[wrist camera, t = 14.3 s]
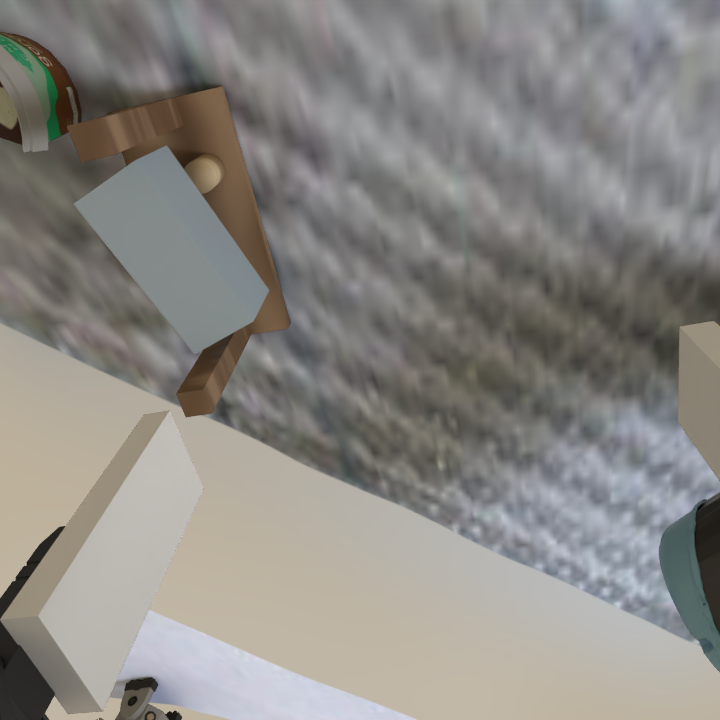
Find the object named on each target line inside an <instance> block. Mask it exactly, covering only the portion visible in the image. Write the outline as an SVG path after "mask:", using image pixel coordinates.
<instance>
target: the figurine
mask: <svg viewBox="0 0 720 720" xmlns="http://www.w3.org/2000/svg"><path fill="white" fill-rule="evenodd" d="M157 686H158V683H157V682H156V680H155V679H153V678H149V679H148V680H147V679H146V678H145V679H144V680H143V681H139V680H135V681H134V682H133V680H131V681H130V682H129V683H126V686H125V689H124V691H125V693H124V696H123V699H122V702H121V708H120V712H119V714H118V716H117V718H116V719H115V720H181V719H182V716H181V715H180V714H179V713H177V711H174V712H173V713H172V712H170V711H169V712H168V713H167V714H164V712H163V711H161V710H159V709H157V708H155V707H153V706H152V705H150V704H148V703H149V701H150V698H151V696H152V694H153V692H155V690H156V688H157ZM99 720H103V719H102V718H99Z"/></svg>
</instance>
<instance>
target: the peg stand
mask: <svg viewBox="0 0 720 720" xmlns="http://www.w3.org/2000/svg"><path fill="white" fill-rule="evenodd" d="M107 114H108V115H105V116H102V117H98V118H95V119H91V120H87V121H84V122H80V123H76V124H73V125H69V126H67V128H68V130H69V133H70V135H71V137H72V140H73V142H74V145H75V147H76V150H77V152H78V155H79V157H80V159H81V162H84V161H89V160H94V159H98V158H103V157H107V156H112V155H115V154H117V153H120V152H122V154H123V156H124V159H125V162H126V164H127V166H128V165H129V164H130V163H132V162H133V161H135V160H137V159H139V158H141V157H143V156H145V155H147V154H149V153H152V152H154V151H156V150H158V149H160V148H162V147H164V146H166V145H167V146H168V148H169V149H170V151H171V152H172V153H173V155H174V156H175V158H176V159H177V160H178V162H179V163H180V165H181V166H182V168H183V169H184V170H185V172H186V173H187V175H188V176H189V177H190V179H191V180H192V182H193V183H194V184H195V186H196V187H197V189H198V190H199V192H200V193H201V194H202V196H203V197H204V199H205V200H206V201H207V203H208V204H209V206H210V207H211V209H212V210H213V211H214V213H215V214H216V216H217V217H218V218H219V220H220V221H221V223H222V224H223V225H224V227H225V228H226V230H227V231H228V233H229V234H230V235H231V237H232V238H233V240H234V241H235V242H236V244H237V245H238V247H239V248H240V249H241V251H242V252H243V254H244V255H245V257H246V258H247V259H248V261H249V262H250V264H251V265H252V266H253V268H254V269H255V271H256V272H257V274H258V275H259V276H260V278H261V279H262V281H263V282H264V283H265V285H266V286H267V288H268V289H269V292H268V294H267V296H266V298H265V300H264V302H263V304H262V306H261V308H260V310H259V312H258V314H257V316H256V318H255V319H254V321H253V322H252V323H250V324H248V325H246V326H244V327H243V328H241V329H239V330H237V331H236V332H234V333H232V334H230V335H228V336H227V337H225V338H223V339H221V340H219V341H218V342H216V343H214V344H212V345H210V346H209V347H207V348H205V349H204V350H203V352H202V353H201V355H200V356H199V358H198V360H197V361H196V363H195V364H194V366H193V368H192V369H191V371H190V372H189V374H188V376H187V377H186V379H185V381H184V382H183V384H182V385H181V387H180V389H179V390H178V392H177V393H176V394H177V397H178V399H179V402H180V404H181V407H182V409H183V412H184V414H185V416H186V417H191V416H196V415H204V414H211V413H212V412H213V410H214V408H215V406H216V404H217V402H218V400H219V398H220V396H221V394H222V392H223V390H224V388H225V386H226V384H227V382H228V380H229V378H230V376H231V374H232V372H233V370H234V368H235V366H236V364H237V362H238V360H239V358H240V356H241V354H242V352H243V350H244V348H245V346H246V344H247V342H248V340H249V338H250V336H251V334H257V333H263V332H269V331H275V330H281V329H287V328H289V326H290V323H291V322H290V319H289V315H288V312H287V308H286V305H285V301H284V298H283V294H282V291H281V287H280V284H279V280H278V277H277V273H276V270H275V266H274V263H273V259H272V256H271V252H270V249H269V245H268V242H267V238H266V235H265V231H264V228H263V224H262V221H261V217H260V214H259V210H258V207H257V203H256V200H255V196H254V193H253V189H252V186H251V182H250V179H249V175H248V172H247V168H246V165H245V161H244V158H243V154H242V151H241V147H240V144H239V140H238V137H237V133H236V130H235V126H234V123H233V120H232V116H231V113H230V109H229V106H228V102H227V99H226V95H225V92H224V88H223V86H221V87H217V88H212V89H208V90H204V91H199V92H195V93H191V94H186V95H182V96H178V97H174V98H169V99H165V100H161V101H156V102H152V103H148V104H143V105H139V106H135V107H130V108H126V109H122V110H118V111H113V112H110V113H107Z"/></svg>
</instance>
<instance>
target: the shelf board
mask: <svg viewBox="0 0 720 720" xmlns="http://www.w3.org/2000/svg"><path fill="white" fill-rule="evenodd" d="M74 206H75V207H76V208H77V209H78V211H79V212H80V213H81V214H82V216H83V217H84V218H85V219H86V221H87V222H88V223H89V224H90V226H91V227H92V228H93V229H94V231H95V232H96V233H97V234H98V235H99V237H100V238H101V239H102V240H103V242H104V243H105V244H106V245H107V247H108V248H109V249H110V250H111V252H112V253H113V254H114V255H115V257H116V258H117V259H118V260H119V261H120V263H121V264H122V265H123V266H124V268H125V269H126V270H127V271H128V273H129V274H130V275H131V276H132V278H133V279H134V280H135V281H136V283H137V284H138V285H139V286H140V288H141V289H142V290H143V291H144V292H145V294H146V295H147V296H148V297H149V299H150V300H151V301H152V302H153V304H154V305H155V306H156V307H157V309H158V310H159V311H160V312H161V314H162V315H163V316H164V317H165V318H166V320H167V321H168V322H169V323H170V325H171V326H172V327H173V328H174V330H175V331H176V332H177V333H178V335H179V336H180V337H181V338H182V340H183V341H184V342H185V343H186V344H187V346H188V347H189V348H190V349H191V351H192V352H193V353H194V354H196V353H198V352H200V351H202V350H203V349H205V348H207V347H209V346H210V345H212V344H214V343H216V342H218V341H219V340H221V339H223V338H225V337H227V336H228V335H230V334H232V333H234V332H236V331H237V330H239V329H241V328H243V327H244V326H246V325H248V324H250V323H252V322H253V321H254V319H255V318H256V316H257V314H258V312H259V310H260V308H261V306H262V304H263V302H264V300H265V298H266V296H267V294H268V292H269V289H268V288H267V286H266V285H265V283H264V282H263V281H262V279H261V278H260V276H259V275H258V274H257V272H256V271H255V269H254V268H253V266H252V265H251V264H250V262H249V261H248V259H247V258H246V257H245V255H244V254H243V252H242V251H241V249H240V248H239V247H238V245H237V244H236V242H235V241H234V240H233V238H232V237H231V235H230V234H229V233H228V231H227V230H226V228H225V227H224V225H223V224H222V223H221V221H220V220H219V218H218V217H217V216H216V214H215V213H214V211H213V210H212V209H211V207H210V206H209V204H208V203H207V201H206V200H205V199H204V197H203V196H202V194H201V193H200V192H199V190H198V189H197V187H196V186H195V184H194V183H193V182H192V180H191V179H190V177H189V176H188V175H187V173H186V172H185V170H184V169H183V168H182V166H181V165H180V163H179V162H178V160H177V159H176V158H175V156H174V155H173V153H172V152H171V151H170V149H169V148H168V146H167V145H166V146H164V147H162V148H160V149H158V150H156V151H154V152H152V153H149V154H147V155H145V156H143V157H141V158H139V159H137V160H135V161H133V162H132V163H130V164H129V165H128V166H126V167H125V168H123V169H122V170H121V171H119V172H118V173H116V174H115V175H114V176H112V177H111V178H109V179H108V180H106V181H105V182H104V183H102V184H101V185H99V186H98V187H97V188H95V189H94V190H92V191H91V192H90V193H88V194H87V195H85V196H84V197H82V198H81V199H80V200H78V201H77V202H75V203H74Z"/></svg>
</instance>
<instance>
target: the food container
mask: <svg viewBox="0 0 720 720" xmlns="http://www.w3.org/2000/svg"><path fill="white" fill-rule="evenodd" d="M80 122H81V107H80V103H79V98H78V94H77V90H76V88H75V86H74V84H73V82H72V80H71V78H70V76H69V75H68V73H67V71H66V69H65V68H64V67H63V66H62V64H61V63H60V62H59V61H58V60H57V59H56V58H55V57H54V55H53V54H52V53H51V52H50V51H48V50H47V49H45V48H44V47H43V46H41V45H40V44H38V43H37V42H35V41H33V40H31V39H29V38H26V37H23V36H19V35H16V34H9V33H1V32H0V137H1V138H4V139H6V140H9V141H12V142H15V143H18V144H21V145H22V149H23V152H28V151H31V152H38V151H45V150H48V142H49V141H51V140H54V139H56V138H58V137H60V136H62V135H64V134H66V133H68V132H69V130H68V128H67V126H69V125H73V124H76V123H80Z"/></svg>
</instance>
